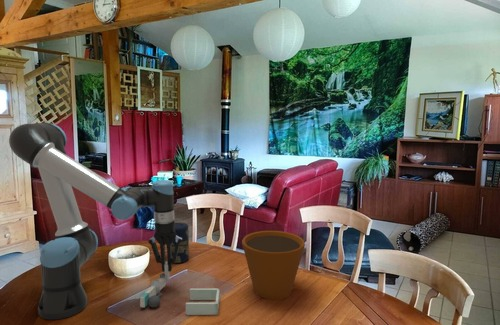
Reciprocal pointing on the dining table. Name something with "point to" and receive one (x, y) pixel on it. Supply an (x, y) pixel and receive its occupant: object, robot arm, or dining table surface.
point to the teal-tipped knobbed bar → (152, 290)
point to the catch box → (203, 307)
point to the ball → (154, 301)
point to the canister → (183, 249)
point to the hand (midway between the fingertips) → (167, 278)
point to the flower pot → (273, 261)
